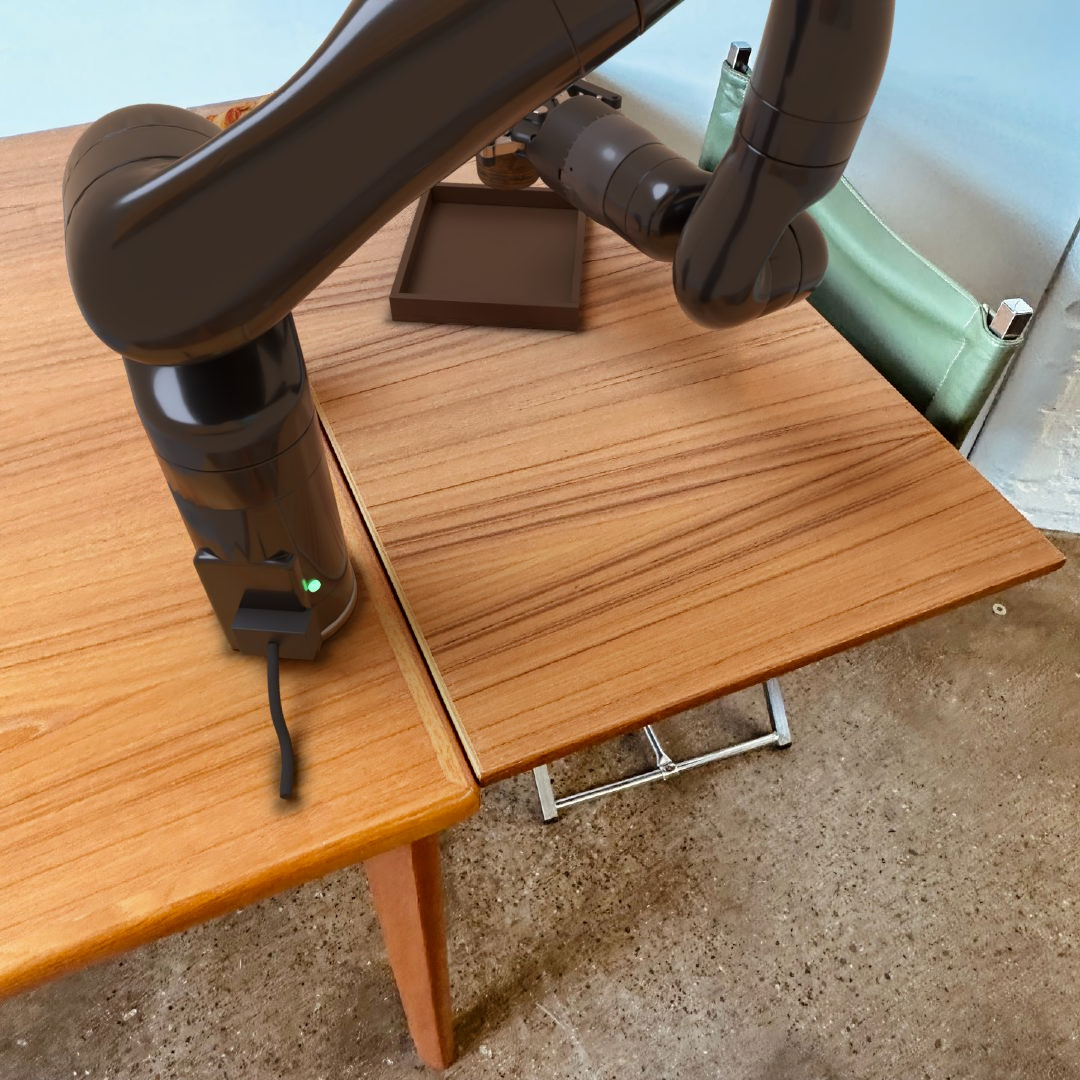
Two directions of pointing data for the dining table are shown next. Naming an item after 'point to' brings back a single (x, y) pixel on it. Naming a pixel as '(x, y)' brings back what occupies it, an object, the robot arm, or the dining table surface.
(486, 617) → the dining table surface
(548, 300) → the tray
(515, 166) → the utensil holder
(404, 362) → the dining table surface
